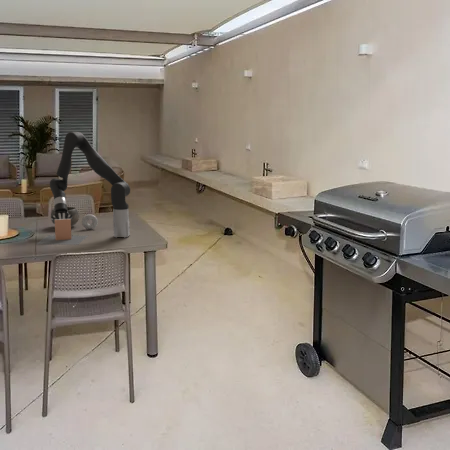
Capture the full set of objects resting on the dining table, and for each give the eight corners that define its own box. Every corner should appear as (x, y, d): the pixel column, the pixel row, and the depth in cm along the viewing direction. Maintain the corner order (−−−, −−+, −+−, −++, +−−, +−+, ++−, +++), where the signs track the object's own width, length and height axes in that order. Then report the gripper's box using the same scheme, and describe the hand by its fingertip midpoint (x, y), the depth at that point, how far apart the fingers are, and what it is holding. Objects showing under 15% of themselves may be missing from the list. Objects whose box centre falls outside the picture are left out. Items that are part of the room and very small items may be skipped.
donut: (82, 230, 344) (81, 215, 342) (82, 229, 347) (81, 214, 345) (98, 229, 346) (97, 214, 344) (98, 228, 349) (97, 213, 347)
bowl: (83, 224, 361) (82, 206, 359) (73, 230, 343) (72, 210, 341) (58, 224, 363) (57, 205, 360) (46, 229, 345) (45, 210, 343)
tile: (55, 239, 314) (54, 219, 312) (71, 238, 317) (70, 218, 315) (55, 240, 312) (54, 220, 310) (71, 239, 316) (70, 219, 313)
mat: (88, 236, 326) (88, 235, 326) (78, 245, 302) (78, 244, 302) (49, 235, 326) (49, 235, 325) (35, 244, 302) (35, 244, 302)
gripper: (49, 202, 320) (51, 226, 311) (72, 201, 325) (74, 225, 316) (49, 210, 326) (51, 233, 317) (71, 209, 331) (74, 232, 322)
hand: (62, 229), depth 317 cm, fingers closed
